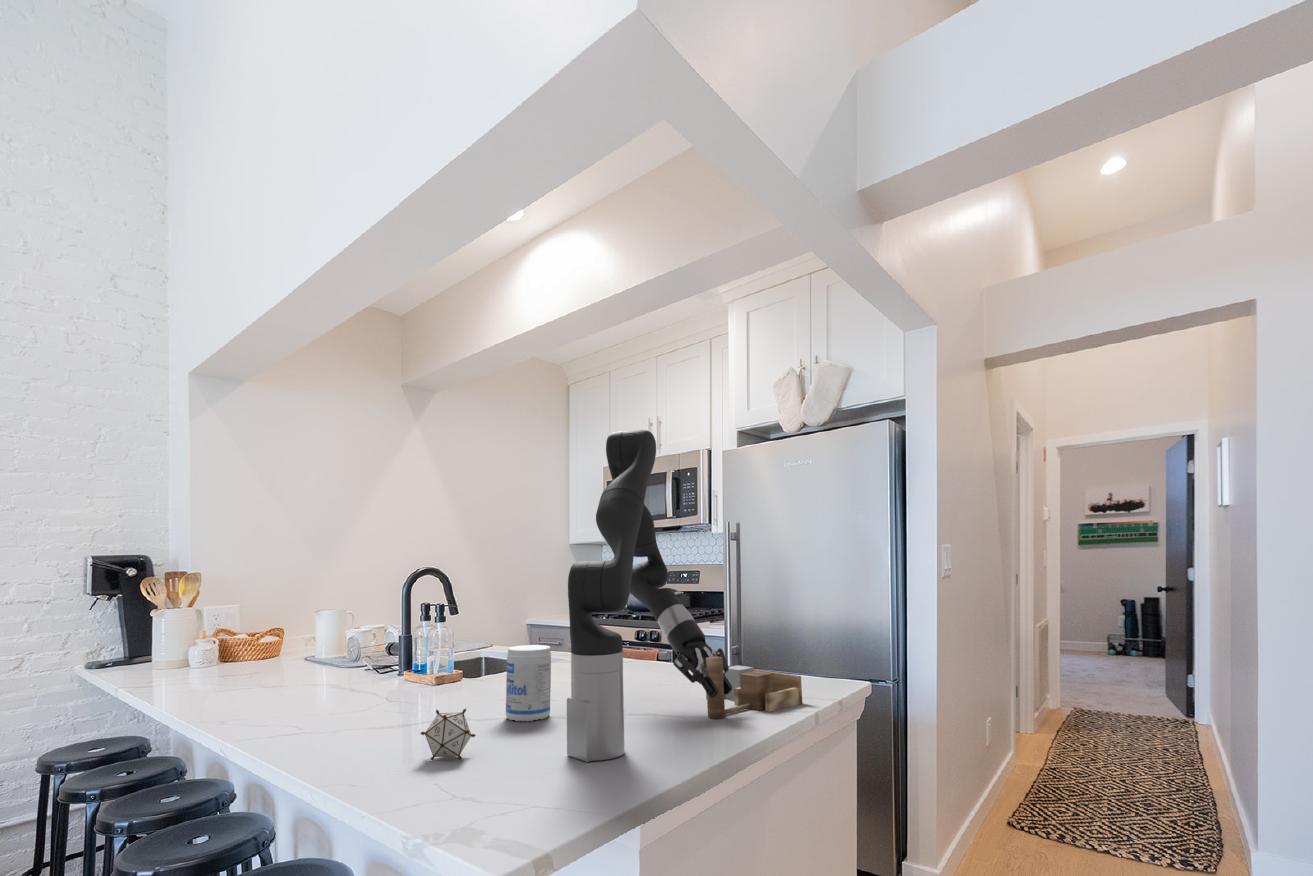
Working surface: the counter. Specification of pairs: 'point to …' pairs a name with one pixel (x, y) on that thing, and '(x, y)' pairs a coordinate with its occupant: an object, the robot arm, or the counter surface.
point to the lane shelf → (778, 691)
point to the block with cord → (751, 689)
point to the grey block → (735, 678)
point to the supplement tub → (528, 682)
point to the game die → (448, 734)
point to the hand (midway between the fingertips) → (722, 693)
